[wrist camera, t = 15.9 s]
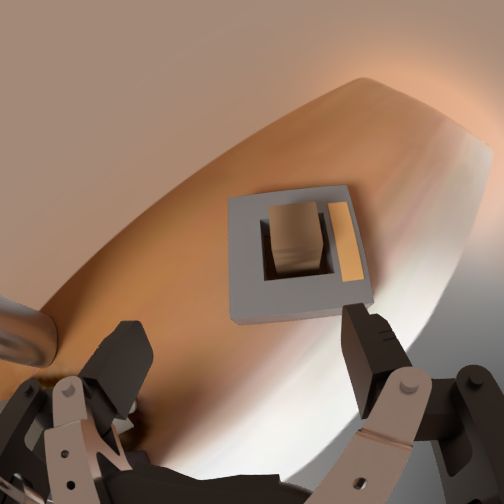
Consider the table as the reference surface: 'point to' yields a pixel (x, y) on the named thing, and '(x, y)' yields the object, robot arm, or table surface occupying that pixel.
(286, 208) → the walnut peg
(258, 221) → the socket block
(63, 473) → the robot arm
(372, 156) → the table surface
